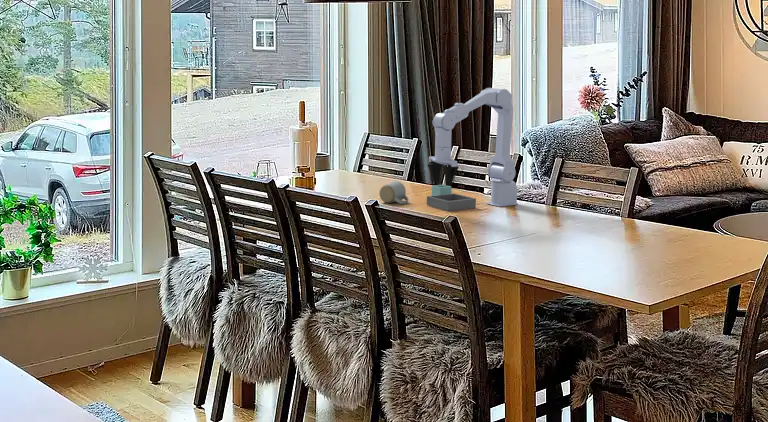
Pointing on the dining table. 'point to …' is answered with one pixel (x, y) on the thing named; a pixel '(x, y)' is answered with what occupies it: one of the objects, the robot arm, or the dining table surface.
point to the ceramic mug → (393, 193)
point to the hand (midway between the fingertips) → (442, 184)
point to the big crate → (451, 202)
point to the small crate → (441, 190)
